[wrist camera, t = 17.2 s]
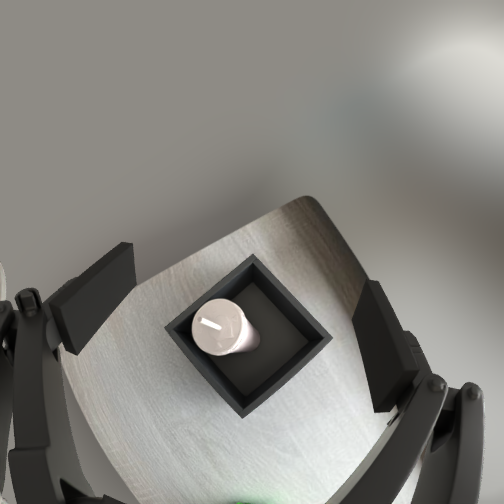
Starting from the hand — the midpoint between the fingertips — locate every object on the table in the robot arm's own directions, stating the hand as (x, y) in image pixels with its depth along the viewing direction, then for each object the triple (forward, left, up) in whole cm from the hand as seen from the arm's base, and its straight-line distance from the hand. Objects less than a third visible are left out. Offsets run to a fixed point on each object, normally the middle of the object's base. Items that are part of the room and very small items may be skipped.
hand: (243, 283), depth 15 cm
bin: (+1, -1, -26) cm, 26 cm away
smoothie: (+1, -2, -25) cm, 25 cm away
